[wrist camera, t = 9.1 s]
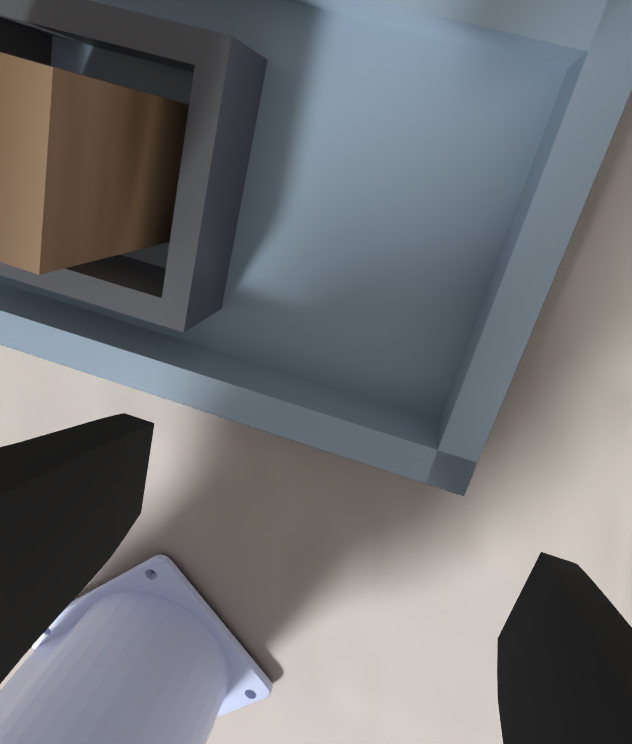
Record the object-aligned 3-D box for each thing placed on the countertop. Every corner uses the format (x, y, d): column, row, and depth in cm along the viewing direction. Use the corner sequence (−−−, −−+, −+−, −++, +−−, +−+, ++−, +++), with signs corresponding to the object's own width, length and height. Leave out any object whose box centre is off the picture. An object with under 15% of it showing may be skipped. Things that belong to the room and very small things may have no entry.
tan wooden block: (70, 205, 19) (-125, 221, 12) (81, 74, 17) (-135, 14, 11) (181, 238, 18) (39, 274, 12) (202, 108, 17) (53, 67, 10)
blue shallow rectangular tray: (-51, 292, 21) (-135, 313, 18) (-54, -126, 16) (-170, -196, 13) (460, 455, 19) (464, 510, 16) (630, 30, 14) (683, -10, 11)
